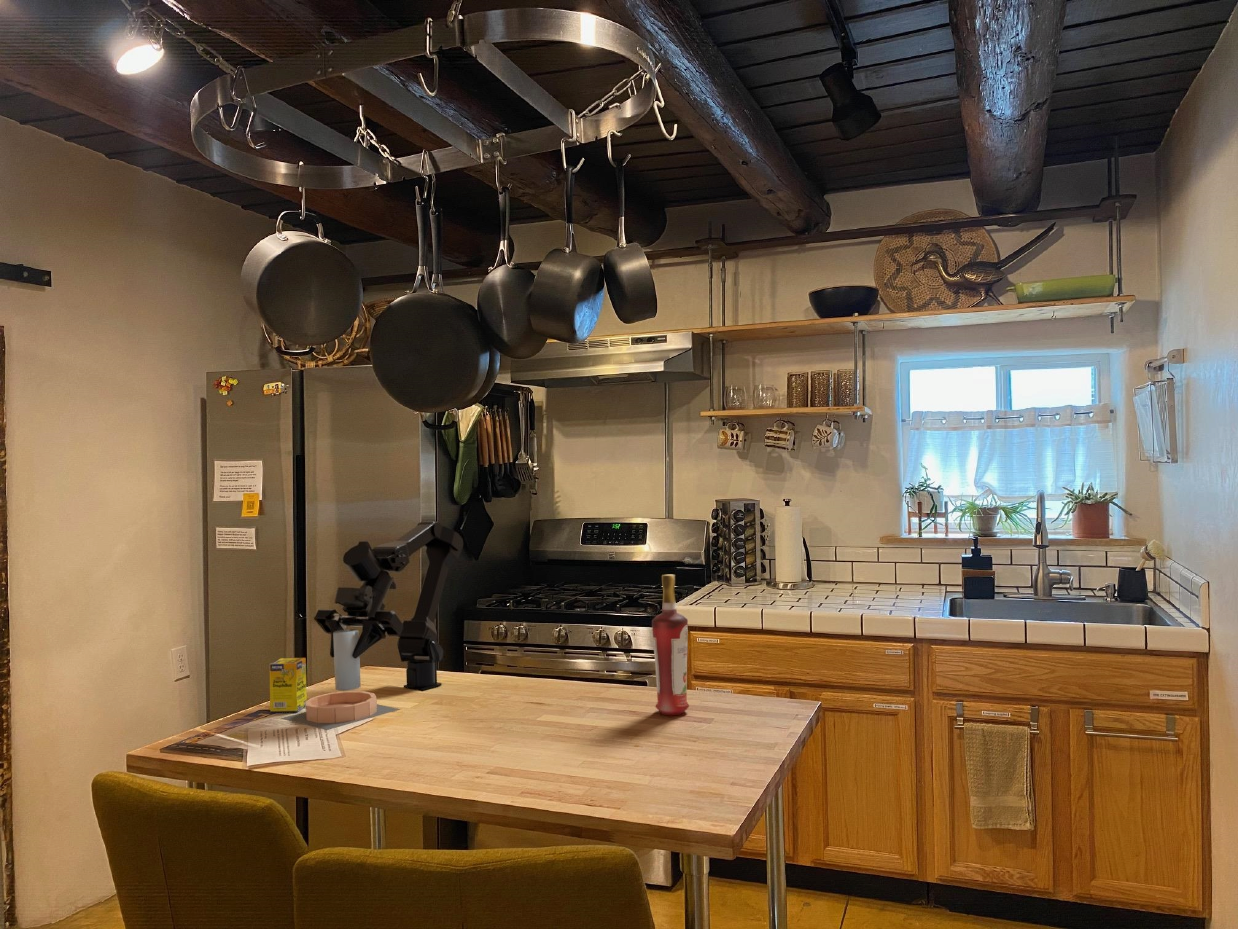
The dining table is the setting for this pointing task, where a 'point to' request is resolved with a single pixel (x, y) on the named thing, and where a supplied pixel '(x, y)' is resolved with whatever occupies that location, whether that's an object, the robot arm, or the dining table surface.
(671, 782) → the dining table surface
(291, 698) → the supplement box
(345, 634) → the cylinder
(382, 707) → the mat
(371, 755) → the dining table surface
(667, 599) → the liquor
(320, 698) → the dish
